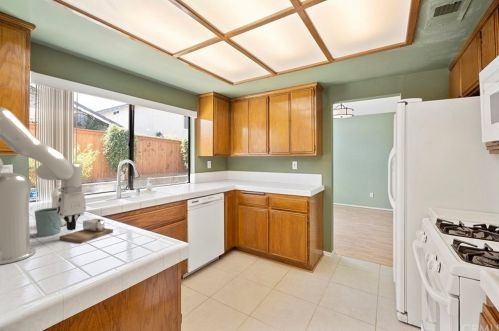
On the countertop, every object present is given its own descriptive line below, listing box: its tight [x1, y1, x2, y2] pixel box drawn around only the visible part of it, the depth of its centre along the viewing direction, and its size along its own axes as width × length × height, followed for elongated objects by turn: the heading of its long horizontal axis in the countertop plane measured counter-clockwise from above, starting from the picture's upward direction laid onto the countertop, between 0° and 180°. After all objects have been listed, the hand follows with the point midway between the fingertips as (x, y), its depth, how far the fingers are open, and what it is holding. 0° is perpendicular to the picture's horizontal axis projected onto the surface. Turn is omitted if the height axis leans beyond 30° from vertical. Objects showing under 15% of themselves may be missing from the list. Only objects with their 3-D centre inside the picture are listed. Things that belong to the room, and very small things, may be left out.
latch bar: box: [82, 218, 106, 232], centre depth 110 cm, size 12×4×5 cm, turn 69°
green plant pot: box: [34, 207, 62, 238], centre depth 110 cm, size 10×10×12 cm
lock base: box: [59, 218, 114, 244], centre depth 107 cm, size 15×14×6 cm
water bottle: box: [51, 180, 67, 227], centre depth 124 cm, size 7×7×25 cm
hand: (71, 229), depth 104 cm, fingers closed
